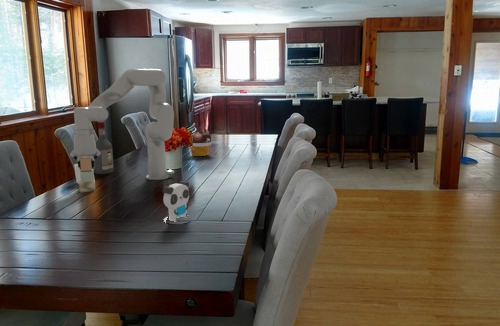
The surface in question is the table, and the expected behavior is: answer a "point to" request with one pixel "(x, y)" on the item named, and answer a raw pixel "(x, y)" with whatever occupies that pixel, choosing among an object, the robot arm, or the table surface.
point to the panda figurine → (176, 200)
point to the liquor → (103, 153)
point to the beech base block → (87, 186)
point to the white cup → (77, 173)
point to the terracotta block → (85, 163)
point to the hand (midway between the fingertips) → (86, 168)
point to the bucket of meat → (201, 143)
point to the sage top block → (87, 176)
